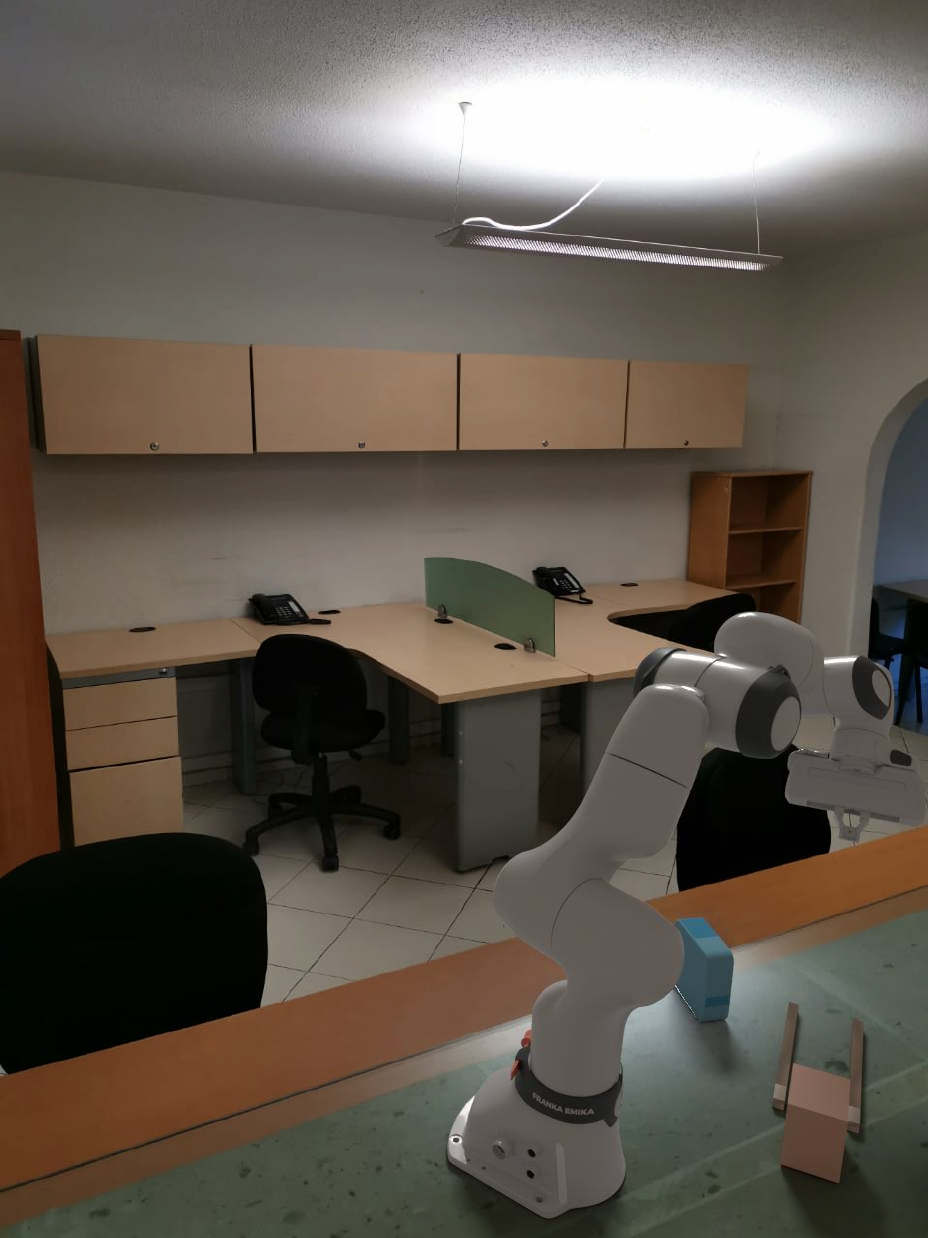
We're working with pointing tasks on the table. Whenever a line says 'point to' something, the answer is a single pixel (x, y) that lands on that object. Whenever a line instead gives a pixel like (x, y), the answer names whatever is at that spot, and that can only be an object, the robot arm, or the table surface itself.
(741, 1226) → the table surface
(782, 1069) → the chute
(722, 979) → the data package
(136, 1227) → the table surface
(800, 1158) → the block
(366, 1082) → the table surface
